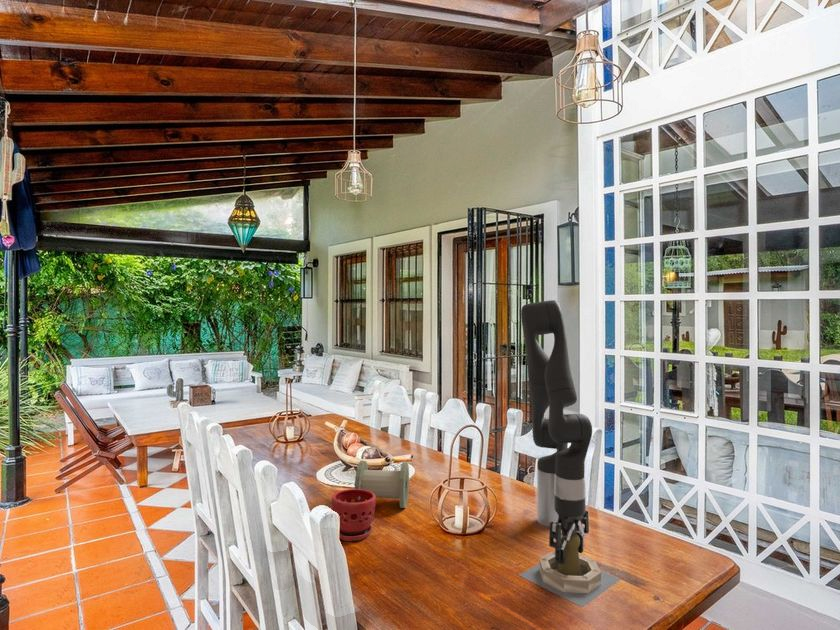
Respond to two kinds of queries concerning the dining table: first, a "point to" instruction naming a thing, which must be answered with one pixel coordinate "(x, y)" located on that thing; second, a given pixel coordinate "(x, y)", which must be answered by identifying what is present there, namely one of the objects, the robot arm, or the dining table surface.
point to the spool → (384, 482)
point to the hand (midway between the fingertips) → (569, 557)
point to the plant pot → (354, 513)
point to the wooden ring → (570, 582)
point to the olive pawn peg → (571, 557)
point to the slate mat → (576, 598)
